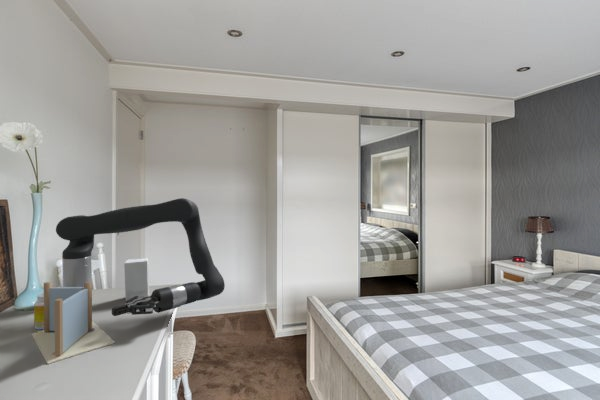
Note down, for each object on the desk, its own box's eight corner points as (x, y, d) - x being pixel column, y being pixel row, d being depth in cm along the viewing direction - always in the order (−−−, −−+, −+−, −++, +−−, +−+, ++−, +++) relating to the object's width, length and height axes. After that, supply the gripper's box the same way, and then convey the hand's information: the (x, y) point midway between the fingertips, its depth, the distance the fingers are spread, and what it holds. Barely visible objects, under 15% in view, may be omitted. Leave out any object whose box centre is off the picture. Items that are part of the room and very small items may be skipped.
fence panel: (83, 331, 94) (83, 284, 94) (87, 331, 94) (87, 284, 94) (54, 355, 80) (54, 300, 80) (60, 355, 81) (59, 300, 80)
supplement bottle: (47, 330, 96) (47, 297, 96) (29, 330, 96) (29, 297, 96) (61, 322, 102) (60, 291, 101) (43, 322, 102) (43, 291, 101)
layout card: (31, 334, 93) (31, 333, 93) (90, 319, 104) (90, 318, 104) (47, 364, 78) (47, 362, 78) (114, 342, 89) (114, 341, 89)
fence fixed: (42, 333, 94) (41, 283, 93) (47, 330, 96) (47, 281, 95) (89, 333, 95) (89, 283, 94) (93, 330, 97) (93, 281, 96)
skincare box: (149, 294, 130) (149, 257, 129) (148, 299, 124) (148, 261, 123) (127, 296, 127) (127, 258, 126) (124, 302, 121) (124, 262, 120)
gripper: (160, 282, 110) (105, 294, 97) (179, 291, 101) (120, 305, 88) (160, 303, 110) (105, 318, 97) (178, 314, 101) (120, 331, 88)
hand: (112, 312), depth 92 cm, fingers closed
